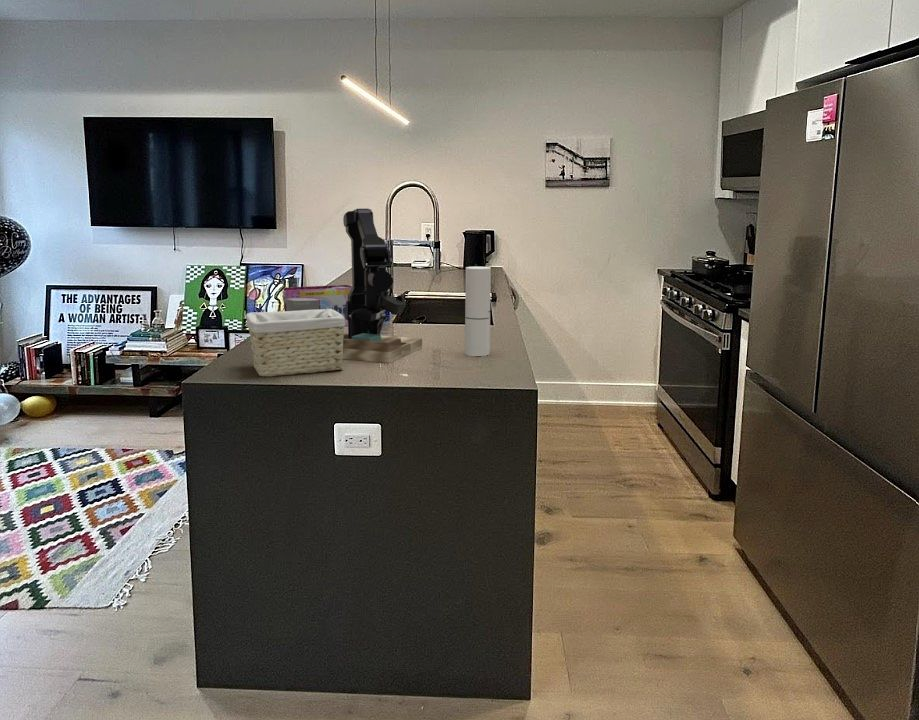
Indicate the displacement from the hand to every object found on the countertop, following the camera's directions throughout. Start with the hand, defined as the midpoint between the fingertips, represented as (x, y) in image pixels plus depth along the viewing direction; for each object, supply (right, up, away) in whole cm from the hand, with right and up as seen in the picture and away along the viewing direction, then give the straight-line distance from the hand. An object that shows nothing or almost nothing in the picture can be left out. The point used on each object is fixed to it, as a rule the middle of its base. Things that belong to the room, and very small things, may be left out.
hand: (376, 340), depth 235 cm
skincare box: (-21, -4, +2) cm, 21 cm away
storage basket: (-19, -8, -19) cm, 28 cm away
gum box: (-24, +6, +45) cm, 52 cm away
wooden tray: (0, -3, +2) cm, 4 cm away
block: (-2, -2, -4) cm, 5 cm away
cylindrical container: (+29, -4, +1) cm, 30 cm away
